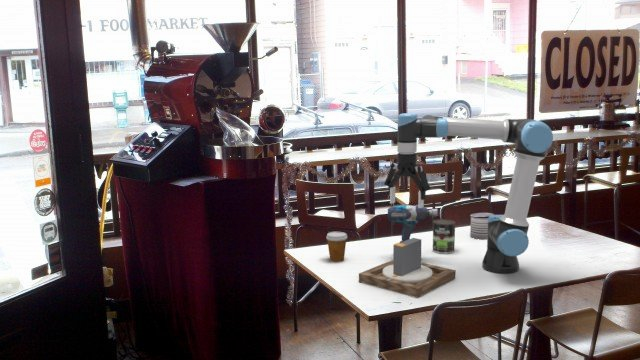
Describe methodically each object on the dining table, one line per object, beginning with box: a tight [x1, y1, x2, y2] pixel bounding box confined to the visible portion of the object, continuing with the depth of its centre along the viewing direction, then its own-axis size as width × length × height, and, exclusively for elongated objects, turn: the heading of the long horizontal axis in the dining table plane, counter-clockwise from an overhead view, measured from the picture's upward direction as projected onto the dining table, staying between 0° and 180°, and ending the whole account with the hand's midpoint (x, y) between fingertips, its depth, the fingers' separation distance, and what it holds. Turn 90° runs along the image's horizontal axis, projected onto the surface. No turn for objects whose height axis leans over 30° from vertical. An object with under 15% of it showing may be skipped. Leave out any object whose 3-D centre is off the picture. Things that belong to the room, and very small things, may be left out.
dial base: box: [358, 259, 457, 298], centre depth 256 cm, size 28×28×4 cm
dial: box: [383, 237, 432, 284], centre depth 255 cm, size 20×20×14 cm
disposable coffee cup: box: [326, 231, 348, 263], centre depth 284 cm, size 10×10×12 cm
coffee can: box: [432, 218, 456, 255], centre depth 295 cm, size 10×10×14 cm
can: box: [469, 212, 495, 241], centre depth 318 cm, size 11×11×12 cm
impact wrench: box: [387, 204, 440, 243], centre depth 282 cm, size 8×23×25 cm, turn 78°
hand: (406, 205), depth 253 cm, fingers open, 13 cm apart
